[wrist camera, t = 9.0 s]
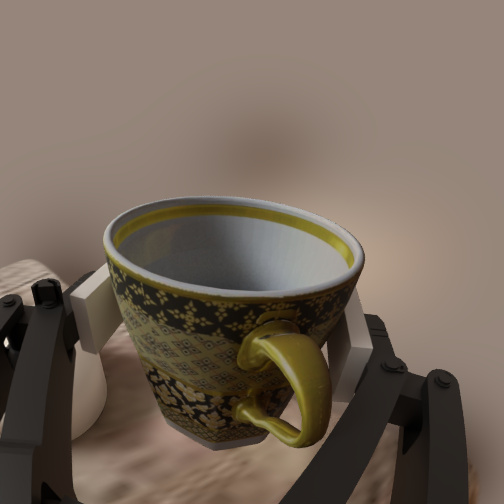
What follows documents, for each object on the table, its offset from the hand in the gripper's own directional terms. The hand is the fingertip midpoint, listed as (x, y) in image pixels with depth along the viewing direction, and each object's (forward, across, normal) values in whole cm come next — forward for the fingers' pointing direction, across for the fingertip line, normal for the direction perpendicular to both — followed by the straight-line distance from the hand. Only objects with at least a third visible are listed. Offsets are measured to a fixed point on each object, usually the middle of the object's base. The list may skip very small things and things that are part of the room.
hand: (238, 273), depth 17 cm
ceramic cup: (-4, +1, -7) cm, 8 cm away
